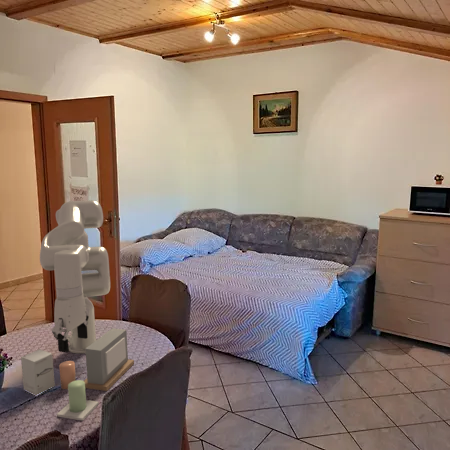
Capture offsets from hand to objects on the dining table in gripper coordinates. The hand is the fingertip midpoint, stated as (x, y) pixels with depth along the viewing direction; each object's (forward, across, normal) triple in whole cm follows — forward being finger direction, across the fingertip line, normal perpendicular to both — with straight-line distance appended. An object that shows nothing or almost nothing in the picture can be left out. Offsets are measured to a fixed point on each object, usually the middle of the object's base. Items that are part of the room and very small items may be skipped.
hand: (73, 344), depth 130 cm
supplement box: (+22, -7, -20) cm, 31 cm away
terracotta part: (+22, -12, -12) cm, 28 cm away
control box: (+22, -22, -2) cm, 31 cm away
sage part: (+21, 0, 0) cm, 21 cm away
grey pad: (+22, 0, 0) cm, 22 cm away
